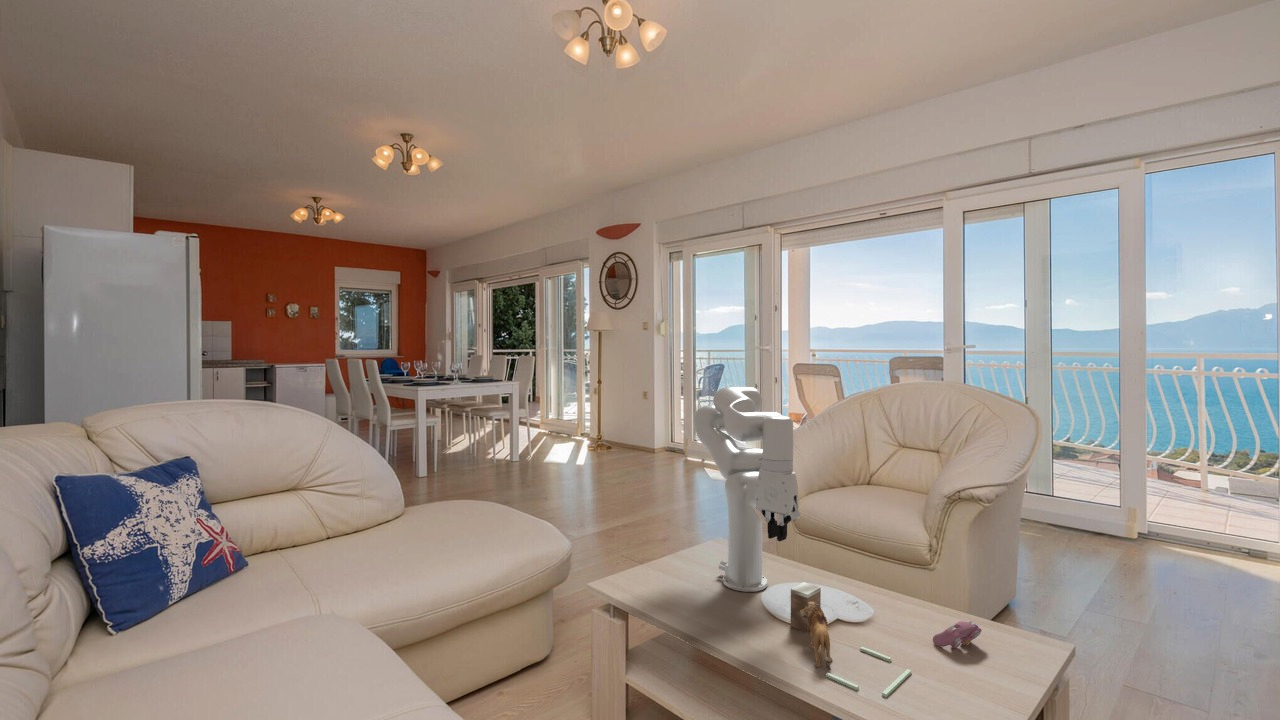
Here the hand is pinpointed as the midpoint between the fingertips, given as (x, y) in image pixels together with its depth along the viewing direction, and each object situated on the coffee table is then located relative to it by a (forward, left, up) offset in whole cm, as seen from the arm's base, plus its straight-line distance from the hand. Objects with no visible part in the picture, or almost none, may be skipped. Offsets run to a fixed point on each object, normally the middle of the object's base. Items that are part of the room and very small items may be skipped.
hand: (777, 538), depth 145 cm
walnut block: (+8, 0, -19) cm, 21 cm away
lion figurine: (+17, -10, -19) cm, 27 cm away
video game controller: (+37, +16, -19) cm, 44 cm away
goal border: (+28, -9, -19) cm, 35 cm away
